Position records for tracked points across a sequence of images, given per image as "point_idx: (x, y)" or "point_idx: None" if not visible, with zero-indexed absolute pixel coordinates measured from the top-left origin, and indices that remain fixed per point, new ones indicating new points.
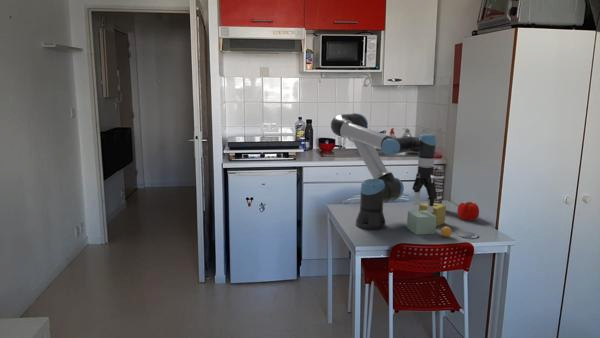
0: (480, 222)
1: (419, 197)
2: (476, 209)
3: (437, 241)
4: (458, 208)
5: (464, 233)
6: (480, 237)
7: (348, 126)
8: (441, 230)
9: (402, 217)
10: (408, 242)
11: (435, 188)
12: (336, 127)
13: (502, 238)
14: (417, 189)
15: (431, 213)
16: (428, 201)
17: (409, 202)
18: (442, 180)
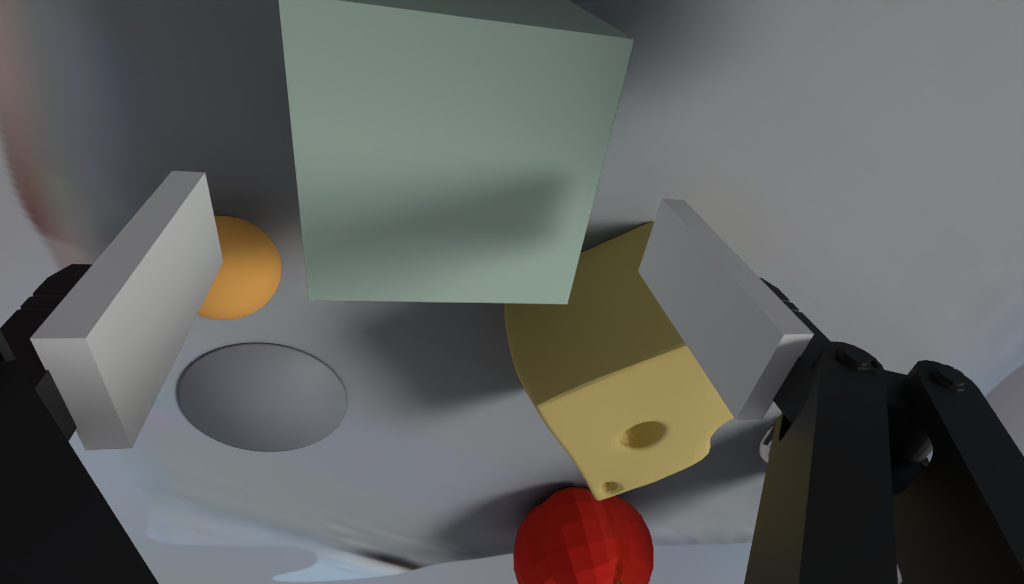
0: (495, 535)
1: (691, 339)
2: None
3: (70, 82)
4: (626, 536)
5: (300, 396)
6: (217, 445)
7: None
8: (218, 231)
9: (828, 151)
10: None
11: (898, 580)
12: None
13: (198, 528)
14: (799, 422)
15: (439, 300)
16: (70, 298)
17: (1000, 371)
18: None
